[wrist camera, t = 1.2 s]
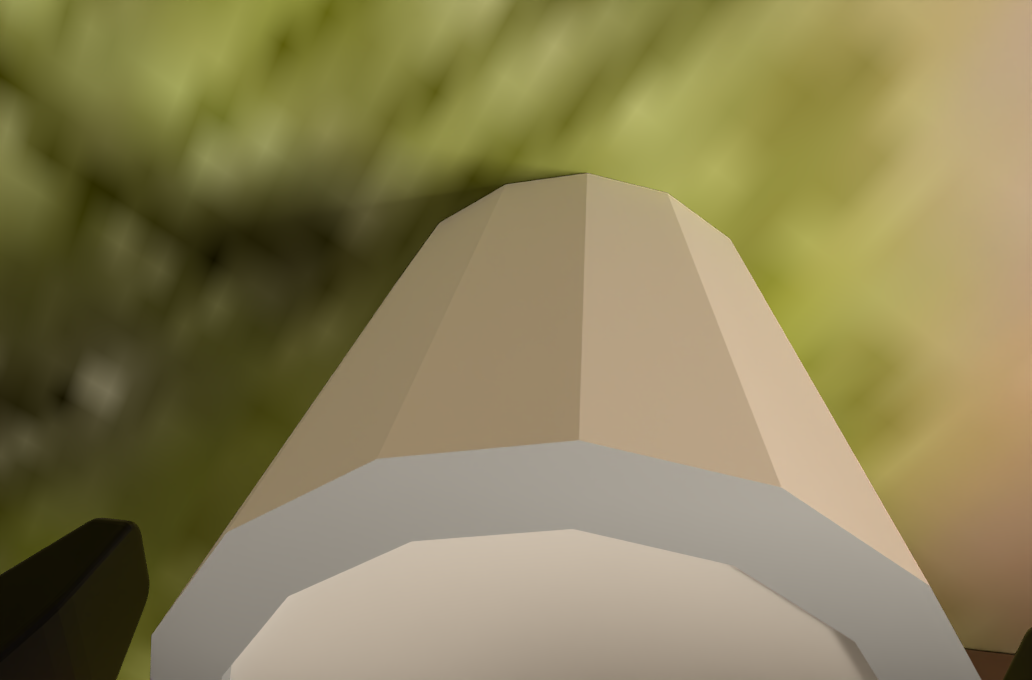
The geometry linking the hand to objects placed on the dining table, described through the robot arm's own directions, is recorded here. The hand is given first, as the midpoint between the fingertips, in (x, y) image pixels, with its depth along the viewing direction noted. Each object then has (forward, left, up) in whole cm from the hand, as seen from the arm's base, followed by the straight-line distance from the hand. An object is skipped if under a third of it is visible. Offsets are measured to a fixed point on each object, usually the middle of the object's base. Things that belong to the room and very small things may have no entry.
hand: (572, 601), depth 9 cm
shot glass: (0, 0, -5) cm, 5 cm away
